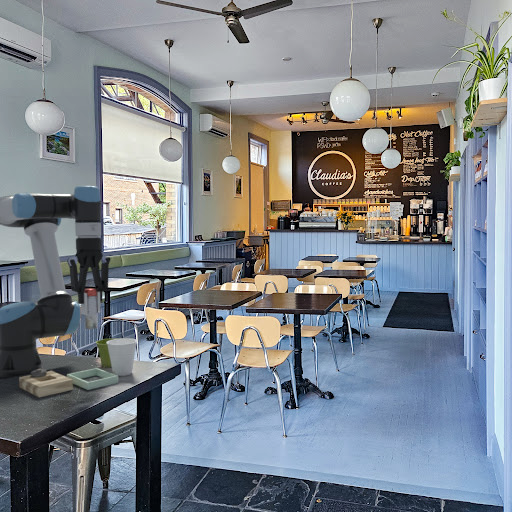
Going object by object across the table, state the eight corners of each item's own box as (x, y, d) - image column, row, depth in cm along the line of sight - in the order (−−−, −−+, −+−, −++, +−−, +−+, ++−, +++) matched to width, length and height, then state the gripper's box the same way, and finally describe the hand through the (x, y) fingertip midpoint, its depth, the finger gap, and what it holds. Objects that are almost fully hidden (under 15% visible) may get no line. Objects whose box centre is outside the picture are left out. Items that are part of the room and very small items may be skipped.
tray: (67, 384, 169) (66, 374, 169) (97, 377, 177) (96, 368, 176) (87, 393, 160) (87, 382, 160) (118, 385, 167) (118, 375, 167)
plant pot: (115, 369, 186) (114, 344, 185) (91, 368, 188) (90, 343, 188) (129, 363, 195) (128, 339, 194) (105, 361, 197) (105, 337, 197)
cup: (130, 378, 174) (129, 345, 174) (101, 377, 176) (100, 344, 176) (142, 370, 184) (141, 338, 183) (115, 369, 186) (114, 337, 185)
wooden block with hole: (19, 390, 163) (18, 371, 163) (51, 383, 170) (51, 365, 170) (39, 400, 153) (38, 380, 153) (72, 392, 161) (72, 373, 160)
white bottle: (83, 328, 167) (82, 289, 166) (93, 326, 170) (92, 288, 169) (88, 329, 165) (87, 290, 164) (99, 327, 167) (98, 289, 166)
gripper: (68, 237, 157) (70, 318, 158) (119, 236, 169) (121, 311, 170) (56, 237, 162) (59, 315, 164) (106, 236, 174) (108, 308, 175)
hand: (90, 313), depth 167 cm, fingers closed on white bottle, 4 cm apart
